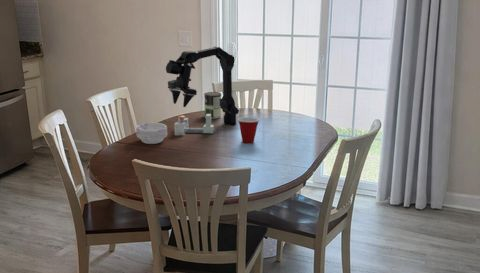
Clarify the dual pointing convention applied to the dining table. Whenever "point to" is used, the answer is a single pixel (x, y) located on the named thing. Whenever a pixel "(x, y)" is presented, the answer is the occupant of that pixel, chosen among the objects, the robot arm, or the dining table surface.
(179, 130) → the grey blocky piece
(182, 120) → the orange knob lever
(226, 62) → the robot arm
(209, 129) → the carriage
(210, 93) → the coffee can
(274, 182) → the dining table surface
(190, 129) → the rail
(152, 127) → the paper bowls
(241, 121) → the plastic cup
